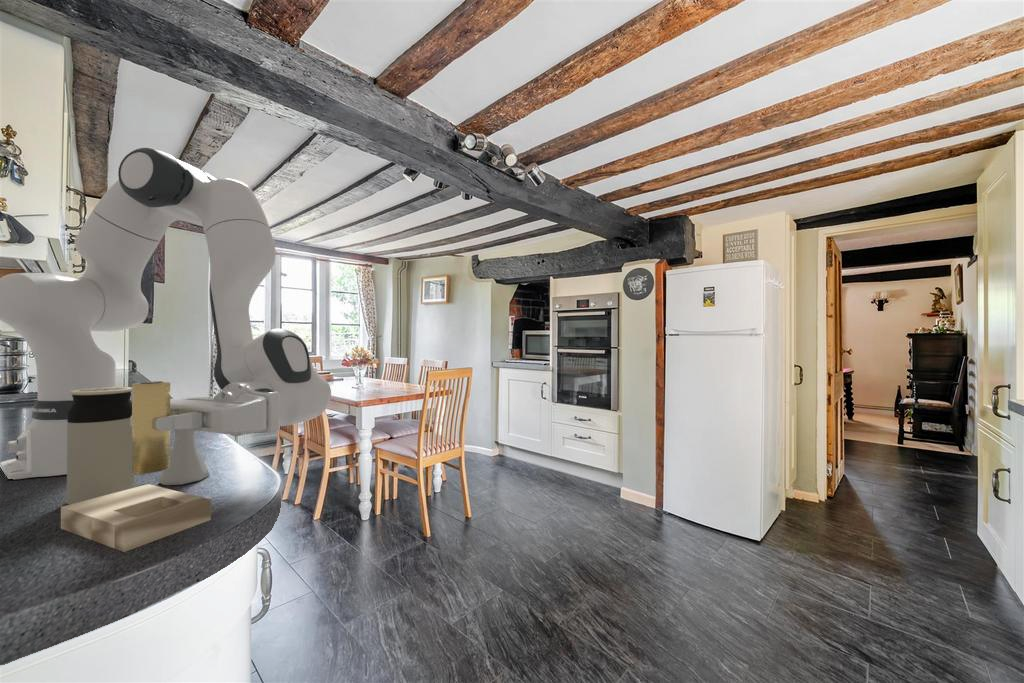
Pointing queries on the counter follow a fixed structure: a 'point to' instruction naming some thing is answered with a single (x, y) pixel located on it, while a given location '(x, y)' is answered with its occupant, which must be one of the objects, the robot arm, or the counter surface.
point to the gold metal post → (150, 427)
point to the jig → (135, 516)
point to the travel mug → (99, 443)
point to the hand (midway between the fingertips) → (143, 423)
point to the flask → (184, 461)
